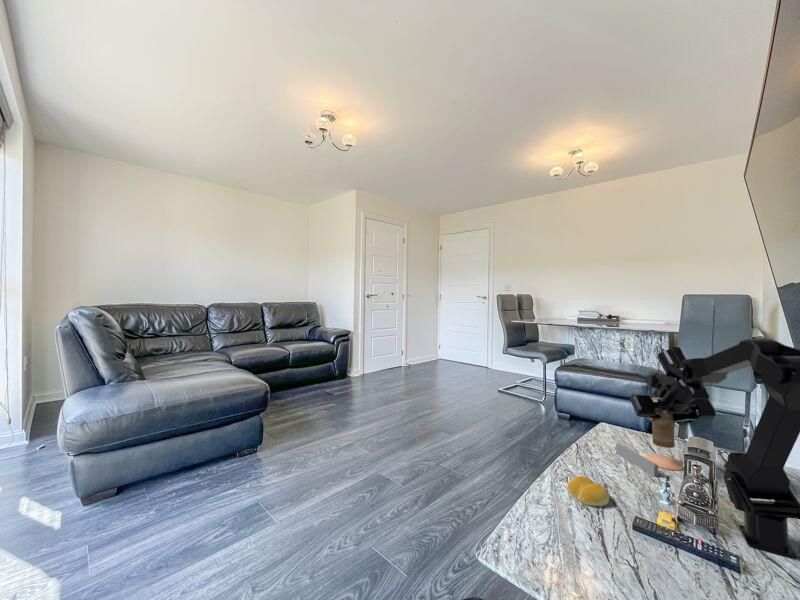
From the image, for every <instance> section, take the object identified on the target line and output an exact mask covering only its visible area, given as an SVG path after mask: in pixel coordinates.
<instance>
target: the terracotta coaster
mask: <svg viewBox="0 0 800 600" xmlns="http://www.w3.org/2000/svg"><path fill="white" fill-rule="evenodd" d="M644 458H646V459H648V460H650V461H651V462H653V463H655V464H657V465H658V469H663V470H666V471H667V470H668V471H676V472H677V471H682V470H684V469H683V464H684V462H682V461H681V460H679V459H676V458H674V457H670V456H667V455H663V454H662V455H661V454H647V455H646V456H644Z"/></svg>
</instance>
